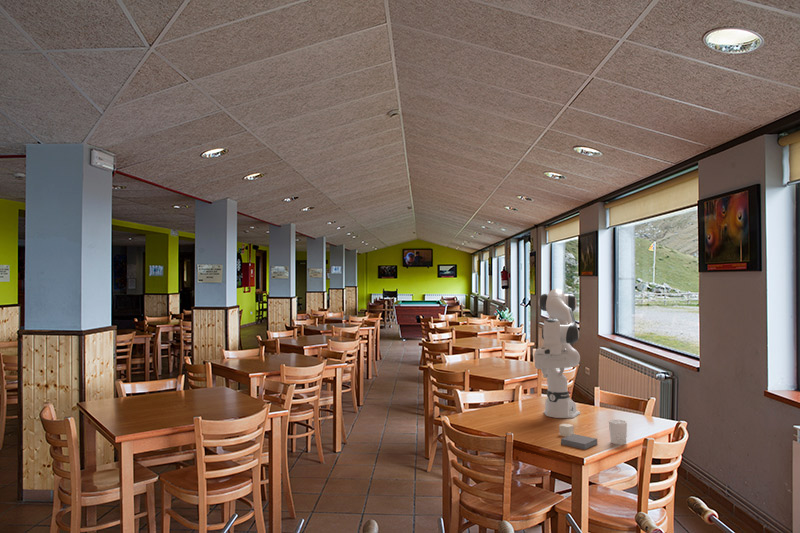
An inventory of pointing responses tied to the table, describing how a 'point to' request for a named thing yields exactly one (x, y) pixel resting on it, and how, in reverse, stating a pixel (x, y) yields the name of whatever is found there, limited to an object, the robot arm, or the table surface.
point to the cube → (566, 430)
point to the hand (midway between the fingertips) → (553, 377)
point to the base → (579, 441)
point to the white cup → (618, 431)
